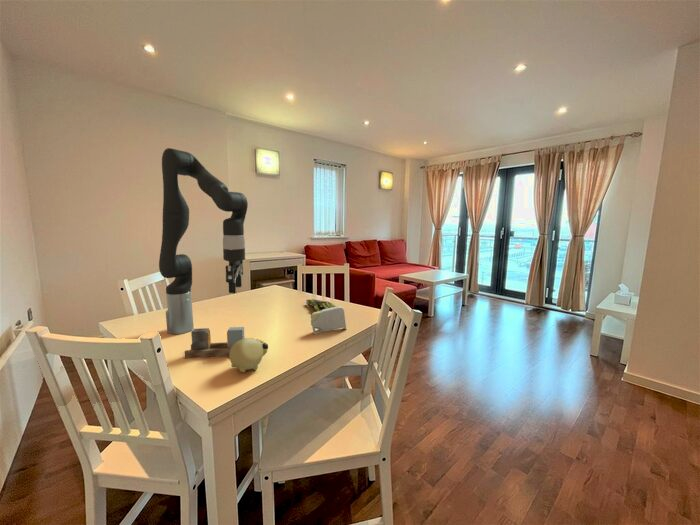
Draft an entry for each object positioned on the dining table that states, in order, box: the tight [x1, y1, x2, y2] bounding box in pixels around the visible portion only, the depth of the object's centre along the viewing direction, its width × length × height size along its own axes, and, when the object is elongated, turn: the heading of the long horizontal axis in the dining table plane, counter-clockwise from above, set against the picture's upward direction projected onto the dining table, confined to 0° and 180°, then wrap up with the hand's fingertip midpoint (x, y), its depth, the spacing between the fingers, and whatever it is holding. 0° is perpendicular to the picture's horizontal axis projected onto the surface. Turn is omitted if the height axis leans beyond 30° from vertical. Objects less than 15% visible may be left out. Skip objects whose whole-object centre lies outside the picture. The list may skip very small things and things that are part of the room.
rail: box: [184, 327, 231, 360], centre depth 107 cm, size 20×7×9 cm, turn 98°
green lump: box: [306, 298, 336, 312], centre depth 160 cm, size 12×7×25 cm
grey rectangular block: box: [226, 326, 245, 348], centre depth 108 cm, size 5×3×8 cm, turn 98°
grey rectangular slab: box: [310, 305, 347, 335], centre depth 129 cm, size 11×3×15 cm
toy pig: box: [229, 337, 269, 373], centre depth 96 cm, size 10×12×11 cm
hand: (235, 289), depth 110 cm, fingers open, 8 cm apart
